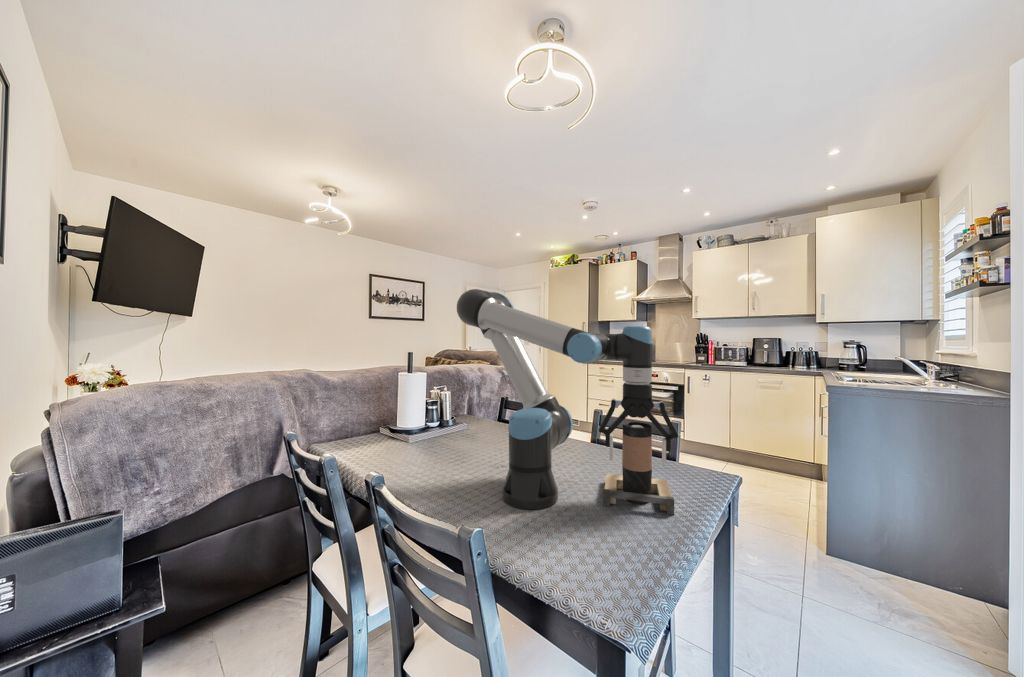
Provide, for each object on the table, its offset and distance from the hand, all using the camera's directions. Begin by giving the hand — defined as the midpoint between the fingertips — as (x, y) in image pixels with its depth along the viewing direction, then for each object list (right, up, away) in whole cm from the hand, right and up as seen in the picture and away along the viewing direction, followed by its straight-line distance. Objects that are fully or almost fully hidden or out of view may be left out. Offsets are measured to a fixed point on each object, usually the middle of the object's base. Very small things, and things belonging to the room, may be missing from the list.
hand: (637, 460), depth 101 cm
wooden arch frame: (0, -10, +1) cm, 10 cm away
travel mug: (0, -10, 0) cm, 10 cm away
